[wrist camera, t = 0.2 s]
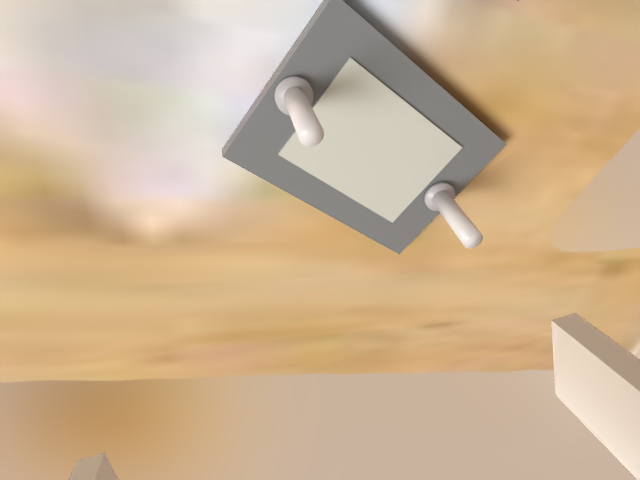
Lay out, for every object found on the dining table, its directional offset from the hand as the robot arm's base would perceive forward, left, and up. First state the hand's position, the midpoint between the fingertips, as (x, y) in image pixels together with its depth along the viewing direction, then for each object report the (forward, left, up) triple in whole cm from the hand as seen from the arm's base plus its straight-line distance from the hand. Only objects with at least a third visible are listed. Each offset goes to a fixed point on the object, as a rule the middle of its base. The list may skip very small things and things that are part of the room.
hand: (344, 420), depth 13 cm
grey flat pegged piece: (-2, +10, -27) cm, 29 cm away
